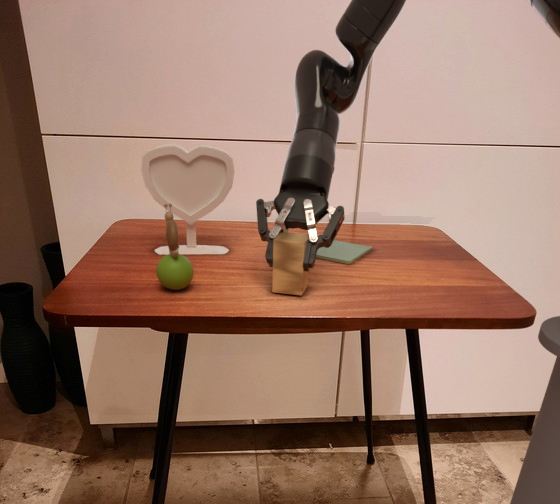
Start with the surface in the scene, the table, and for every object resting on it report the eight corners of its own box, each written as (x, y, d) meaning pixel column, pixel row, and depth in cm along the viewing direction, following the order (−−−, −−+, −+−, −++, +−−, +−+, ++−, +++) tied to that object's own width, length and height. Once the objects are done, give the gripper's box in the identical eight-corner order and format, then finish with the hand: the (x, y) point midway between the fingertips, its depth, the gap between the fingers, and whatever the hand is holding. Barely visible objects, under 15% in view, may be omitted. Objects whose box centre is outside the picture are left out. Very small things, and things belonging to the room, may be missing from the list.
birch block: (307, 285, 85) (310, 234, 81) (301, 295, 81) (304, 242, 78) (279, 282, 86) (280, 231, 82) (271, 292, 82) (273, 239, 78)
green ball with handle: (189, 279, 87) (186, 202, 81) (196, 293, 81) (193, 212, 76) (155, 282, 85) (148, 203, 79) (160, 296, 80) (153, 213, 74)
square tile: (372, 250, 105) (372, 246, 104) (349, 264, 96) (350, 261, 96) (321, 240, 109) (321, 237, 109) (295, 253, 101) (295, 250, 101)
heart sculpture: (147, 254, 97) (138, 146, 89) (150, 246, 102) (141, 142, 93) (235, 254, 99) (234, 148, 91) (233, 246, 104) (232, 144, 95)
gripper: (260, 149, 82) (236, 249, 78) (354, 155, 80) (335, 259, 75) (268, 180, 90) (247, 273, 85) (355, 186, 87) (337, 283, 82)
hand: (288, 266), depth 80 cm, fingers closed on birch block, 4 cm apart
